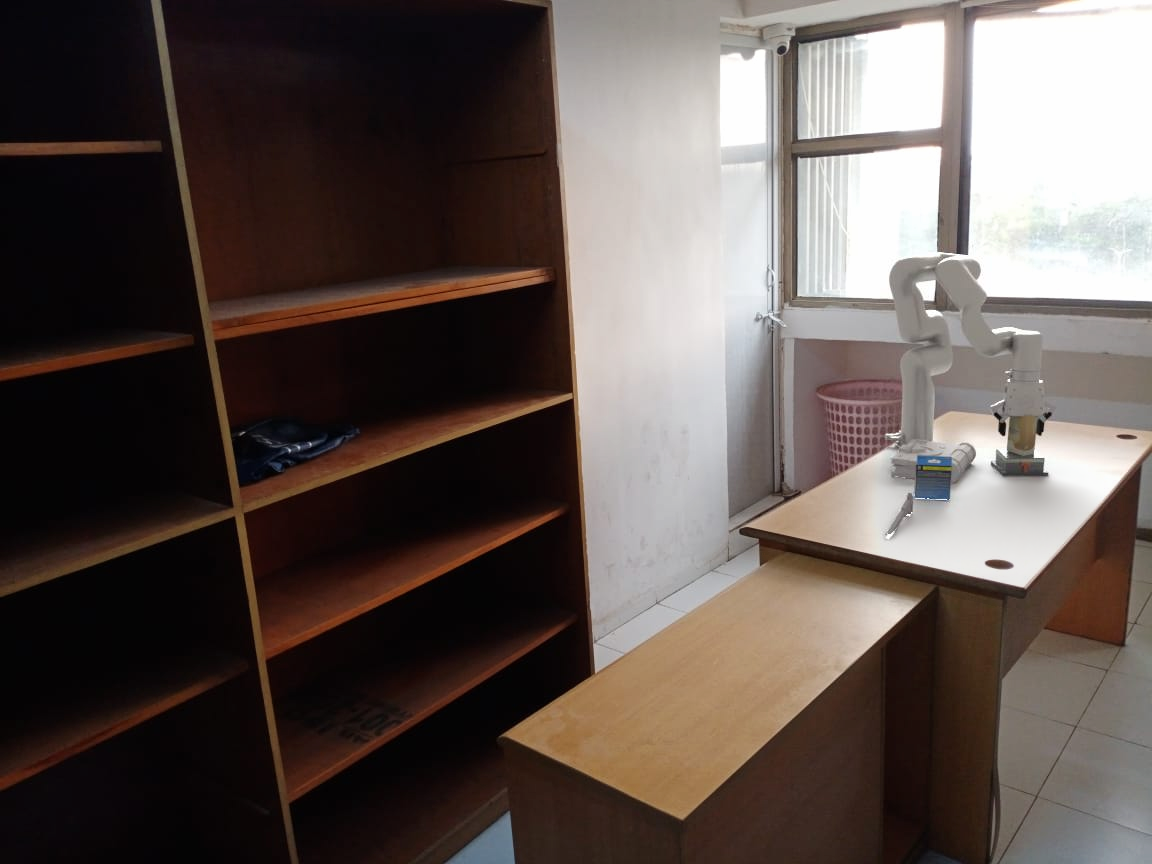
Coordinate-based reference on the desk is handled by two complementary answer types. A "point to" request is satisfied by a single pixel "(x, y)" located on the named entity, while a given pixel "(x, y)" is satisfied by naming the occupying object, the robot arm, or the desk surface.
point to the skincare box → (1022, 435)
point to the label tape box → (933, 477)
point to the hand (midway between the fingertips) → (1020, 434)
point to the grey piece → (1019, 464)
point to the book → (908, 455)
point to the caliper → (902, 513)
